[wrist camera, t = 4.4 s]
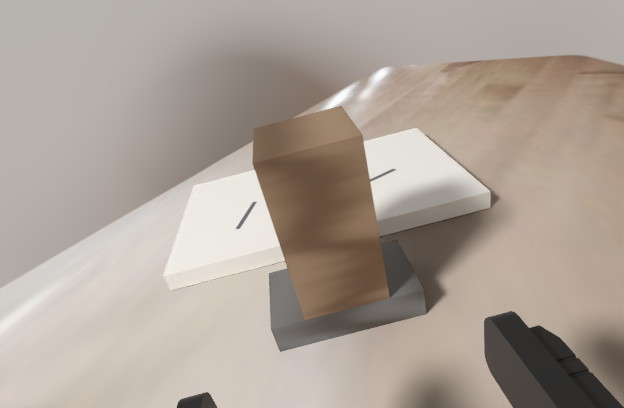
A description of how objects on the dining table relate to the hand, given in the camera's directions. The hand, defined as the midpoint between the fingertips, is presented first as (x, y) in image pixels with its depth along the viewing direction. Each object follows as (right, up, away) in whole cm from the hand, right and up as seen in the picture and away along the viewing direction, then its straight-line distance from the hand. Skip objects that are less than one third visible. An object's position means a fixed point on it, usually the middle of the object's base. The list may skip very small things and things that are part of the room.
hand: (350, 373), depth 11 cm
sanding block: (+1, -2, +14) cm, 14 cm away
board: (-1, +5, +26) cm, 27 cm away
